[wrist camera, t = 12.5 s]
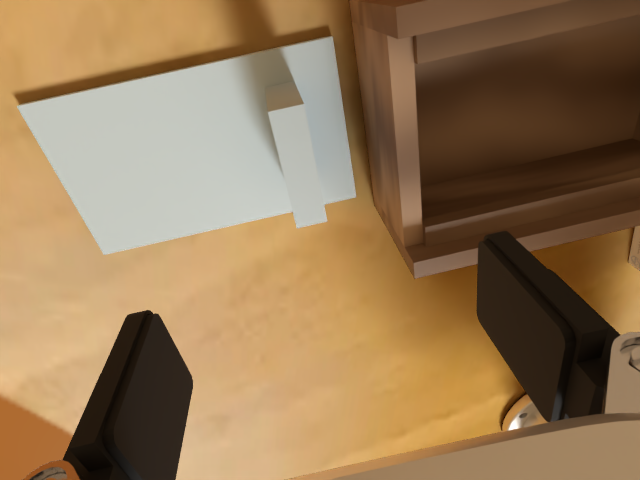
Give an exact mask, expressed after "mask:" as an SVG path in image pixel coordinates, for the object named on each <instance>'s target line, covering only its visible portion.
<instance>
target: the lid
mask: <svg viewBox="0 0 640 480" xmlns="http://www.w3.org/2000/svg"><path fill="white" fill-rule="evenodd" d="M17 108H18V109H19V111H20V113H21V115H22V116H23V118H24V120H25V121H26V123H27V125H28V126H29V128H30V130H31V132H32V133H33V135H34V137H35V138H36V140H37V142H38V143H39V145H40V147H41V149H42V150H43V152H44V154H45V155H46V157H47V159H48V160H49V162H50V164H51V166H52V167H53V169H54V171H55V172H56V174H57V176H58V177H59V179H60V181H61V183H62V184H63V186H64V188H65V189H66V191H67V193H68V194H69V196H70V198H71V200H72V201H73V203H74V205H75V206H76V208H77V210H78V211H79V213H80V215H81V217H82V218H83V220H84V222H85V223H86V225H87V227H88V228H89V230H90V232H91V234H92V235H93V237H94V239H95V240H96V242H97V244H98V246H99V247H100V249H101V251H102V252H103V254H104V255H106V254H110V253H115V252H119V251H123V250H128V249H132V248H137V247H141V246H145V245H150V244H154V243H158V242H163V241H167V240H172V239H176V238H180V237H185V236H189V235H193V234H198V233H202V232H207V231H211V230H215V229H220V228H224V227H228V226H233V225H237V224H242V223H246V222H250V221H255V220H259V219H263V218H268V217H272V216H277V215H281V214H285V213H290V212H293V215H294V219H295V223H296V227H297V228H301V227H305V226H310V225H314V224H319V223H323V222H327V217H326V212H325V207H324V205H325V204H329V203H333V202H338V201H342V200H347V199H351V198H355V197H356V191H355V184H354V178H353V171H352V164H351V157H350V150H349V144H348V137H347V130H346V123H345V116H344V109H343V103H342V96H341V89H340V82H339V75H338V69H337V62H336V55H335V48H334V41H333V36H327V37H322V38H318V39H313V40H308V41H304V42H299V43H295V44H290V45H286V46H281V47H277V48H272V49H268V50H263V51H259V52H254V53H249V54H245V55H240V56H236V57H231V58H227V59H222V60H218V61H213V62H209V63H204V64H200V65H195V66H190V67H186V68H181V69H177V70H172V71H168V72H163V73H159V74H154V75H150V76H145V77H141V78H136V79H131V80H127V81H122V82H118V83H113V84H109V85H104V86H100V87H95V88H91V89H86V90H82V91H77V92H72V93H68V94H63V95H59V96H54V97H50V98H45V99H41V100H36V101H32V102H27V103H23V104H20V105H18V106H17Z"/></svg>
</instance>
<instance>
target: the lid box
mask: <svg viewBox="0 0 640 480" xmlns="http://www.w3.org/2000/svg"><path fill="white" fill-rule="evenodd" d="M349 4H350V12H351V20H352V28H353V36H354V44H355V52H356V60H357V68H358V76H359V84H360V92H361V101H362V109H363V117H364V125H365V133H366V141H367V149H368V157H369V165H370V173H371V181H372V189H373V197H374V206H375V207H376V209H377V211H378V213H379V215H380V217H381V218H382V220H383V222H384V224H385V226H386V227H387V229H388V231H389V233H390V235H391V237H392V238H393V240H394V242H395V244H396V246H397V247H398V249H399V251H400V253H401V255H402V257H403V258H404V260H405V262H406V264H407V266H408V267H409V269H410V271H411V273H412V275H413V277H414V278H415V279H416V278H420V277H424V276H428V275H433V274H437V273H441V272H445V271H450V270H454V269H458V268H462V267H466V266H471V265H475V264H478V244H479V242H480V241H483V239H484V236H485V235H488V234H492V233H497V232H501V231H508V232H509V233H510V234H511V235H512V236H513V237H514V238H515V239H516V240H517V241H518V242H519V243H521V244H522V245H523V246H524V247H525V248H526V249H527V250H528V251H529V252H530V251H534V250H539V249H543V248H547V247H551V246H556V245H560V244H564V243H568V242H573V241H577V240H581V239H585V238H589V237H594V236H598V235H602V234H606V233H611V232H615V231H619V230H623V229H628V228H632V227H636V226H640V0H349Z"/></svg>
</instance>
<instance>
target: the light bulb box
mask: <svg viewBox="0 0 640 480" xmlns="http://www.w3.org/2000/svg"><path fill="white" fill-rule="evenodd" d="M628 262H629V263H630V264H631V265H632V266H634V267H635V268H637V269H638V270H639V271H640V226H636V227H635V229H634V234H633V240H632V245H631V250H630V256H629V261H628Z"/></svg>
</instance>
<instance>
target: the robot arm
mask: <svg viewBox="0 0 640 480" xmlns="http://www.w3.org/2000/svg"><path fill="white" fill-rule="evenodd" d="M477 316H478V319H479V322H480V323H481V325H482V327H483V328H484V330H485V331H486V333H487V334H488V336H489V337H490V339H491V340H492V342H493V343H494V345H495V346H496V348H497V349H498V351H499V352H500V354H501V355H502V357H503V358H504V360H505V361H506V363H507V364H508V366H509V367H510V369H511V370H512V372H513V373H514V375H515V376H516V378H517V379H518V381H519V382H520V384H521V385H522V387H523V388H524V390H525V391H526V393H527V394H526V395H524V396H523V397H522V398H521V399H520V400H518V401H517V402H516V403H515V404H514V405H513V407H512V408H511V409H510V410H509V411H508V413H507V415H506V417H505V419H504V422H503V425H502V432H498V433H494V434H489V435H485V436H480V437H475V438H471V439H466V440H462V441H457V442H452V443H448V444H443V445H439V446H434V447H429V448H425V449H420V450H416V451H411V452H407V453H402V454H398V455H393V456H389V457H384V458H380V459H375V460H371V461H366V462H362V463H357V464H353V465H348V466H344V467H339V468H335V469H330V470H326V471H321V472H317V473H312V474H308V475H303V476H299V477H295V478H290V479H286V480H640V332H629V333H626V334H623V335H620V334H619V333H618V332H617V331H616V330H615V329H614V328H613V327H612V326H610V325H609V324H608V323H607V322H606V321H605V320H604V319H603V318H602V317H601V316H600V315H599V314H598V313H597V312H596V311H595V310H594V309H593V308H591V307H590V306H589V305H588V304H587V303H586V302H585V301H584V300H583V299H582V298H581V297H580V296H579V295H578V294H577V293H576V292H575V291H573V290H572V289H571V288H570V287H569V286H568V285H567V284H566V283H565V282H564V281H563V280H562V279H561V278H560V277H559V276H558V275H557V274H555V273H554V272H553V271H551V270H549V269H547V268H546V267H545V266H544V265H542V264H541V263H540V262H539V261H538V260H537V259H536V258H535V257H534V256H533V255H532V254H531V253H530V252H529V251H528V250H527V249H526V248H525V247H524V246H523V245H522V244H521V243H519V242H518V241H517V240H516V239H515V238H514V237H513V236H512V235H511V234H510V233H509V232H508V231H501V232H497V233H492V234H488V235H485V236H484V239H483V241H480V242H479V244H478V274H477ZM192 389H193V380H192V376H191V374H190V372H189V370H188V368H187V366H186V364H185V362H184V361H183V359H182V357H181V355H180V353H179V351H178V349H177V347H176V345H175V344H174V342H173V340H172V338H171V336H170V334H169V332H168V330H167V329H166V327H165V325H164V323H163V321H162V319H161V317H160V316H159V315H158V314H153V313H152V312H151V311H150V310H146V311H142V312H137V313H133V314H129V315H127V317H126V318H125V321H124V323H123V325H122V327H121V330H120V332H119V334H118V336H117V339H116V341H115V343H114V346H113V348H112V350H111V352H110V355H109V357H108V359H107V361H106V364H105V366H104V368H103V370H102V373H101V374H100V376H99V379H98V381H97V383H96V385H95V388H94V390H93V392H92V394H91V397H90V399H89V401H88V404H87V406H86V408H85V410H84V413H83V415H82V417H81V419H80V422H79V424H78V426H77V428H76V431H75V433H74V435H73V437H72V440H71V442H70V444H69V447H68V449H67V451H66V453H65V456H64V458H63V460H57V461H51V462H49V463H46V464H44V465H42V466H40V467H38V468H37V469H35V470H34V471H32V472H31V473H29V474H28V475H27V476H26V477H25V478H24V479H23V480H175V479H176V474H177V468H178V463H179V458H180V452H181V447H182V442H183V437H184V431H185V426H186V421H187V415H188V410H189V405H190V400H191V394H192Z"/></svg>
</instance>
